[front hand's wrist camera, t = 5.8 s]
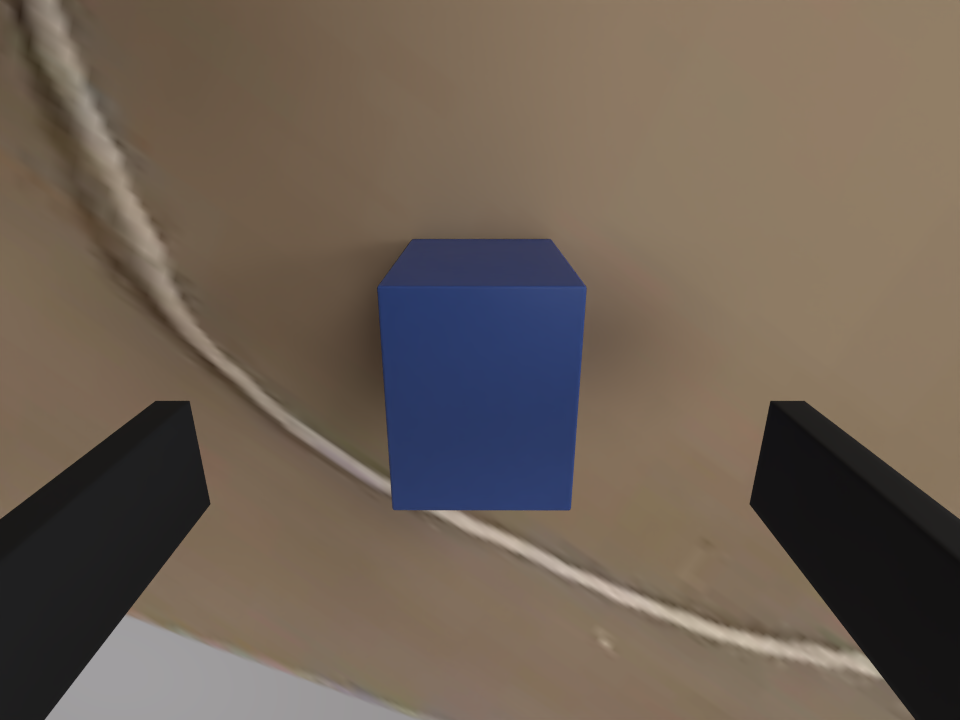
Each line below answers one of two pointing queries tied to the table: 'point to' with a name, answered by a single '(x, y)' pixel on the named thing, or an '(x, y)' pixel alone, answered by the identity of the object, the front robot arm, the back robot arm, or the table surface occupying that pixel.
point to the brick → (481, 374)
